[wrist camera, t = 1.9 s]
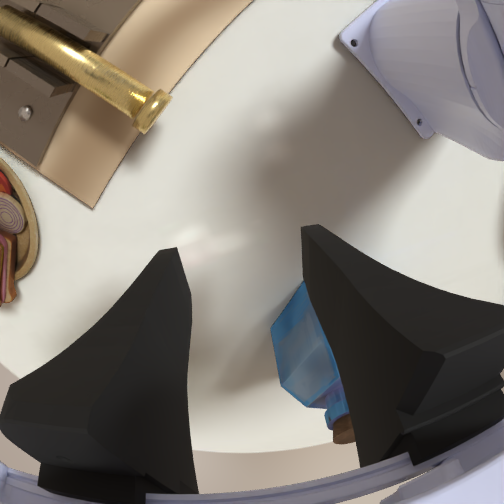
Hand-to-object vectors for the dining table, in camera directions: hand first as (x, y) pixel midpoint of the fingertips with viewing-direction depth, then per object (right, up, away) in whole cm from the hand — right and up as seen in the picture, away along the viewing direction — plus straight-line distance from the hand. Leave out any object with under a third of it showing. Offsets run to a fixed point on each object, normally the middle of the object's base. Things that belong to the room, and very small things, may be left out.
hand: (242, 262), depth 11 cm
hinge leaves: (-13, +14, +1) cm, 20 cm away
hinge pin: (-9, +11, +2) cm, 15 cm away
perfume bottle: (+6, -5, +17) cm, 19 cm away
